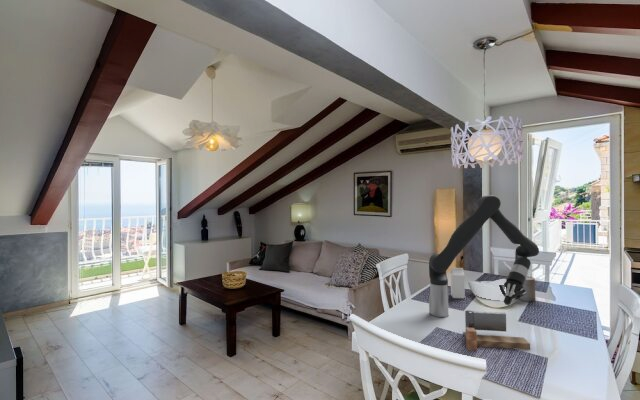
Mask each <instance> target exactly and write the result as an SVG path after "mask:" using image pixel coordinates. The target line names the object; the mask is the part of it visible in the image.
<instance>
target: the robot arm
mask: <svg viewBox="0 0 640 400" xmlns="http://www.w3.org/2000/svg"><path fill="white" fill-rule="evenodd" d="M501 203H502V202H501V199H500V198H499V197H498V196H497V195H492V194H491V195H483V196H481V197H480V198H479V199H478V201H477V205H478V208H477V209H476V211H475V212H474V213H473V214H472V215H470V216H469V217H467V218H466V219H465V220H463V222H462V223H460V225H458V227H456V229H454V231H453V233H452V234H451V236H450V237H449V240H448V242H447V245H446V246H445V248H444V249H443V250H441V252H440V253H434V254H432V255H431V256H430V257H429V260H428V273H429V282H430V283H429V284H430V285H429V286H430V287H429V288H430V289H429V290H430V291H429V292H430V295H429V296H428V312H429V314H431V316H433V317H437V318H447V317H448V316H449V280H448V277H447V271H448V270H449V268H450V267H451V265H452V263H453V262H454V261H455V259H456V258H457V257H458V255H459V254H460V253H461V252H462V251H463V250H464V249H465V247H467V246H468V244H469V243H470V242H471V241H472V240H473V238H474V237H475V236H476V235H477V234H478V232H479V231H480V230H481V228H483V226H484V224H485V223H487V221H488V220H489V219H491V220H492V221H493V222H494V223H495V225H497V226H498V228H499V229H500V231H502V233H503V234H504V235H505V237H507V239H508V241H510V242H511V243H512V244H514V245H518V246H517V247H516V249H515V254H514V255H515V256H514V257H515V258H514V259H515V260H514V262H513V264H512V266H511V268H510V270H509V273H508V275H507V277H506V281H505V282H504V285H499V287H500V290H501V292H502V294H503V295H502V296H503V297H504V298H503V299H504V300H503V303H504V304H505V306H510V305H512V302H513V300H519V299H518V298H520V297H522V296H524V295H526V294H527V293H526V291H525V290H524V289H523V285H524V283H525V280H526V278H527V276H528V274H529V270H530V268H531V263H532V262H531V259H529V258H532V257H533V258H534V257H536V256H538V255H539V254H540V249H539V247H538V245H537V244H536V242H534V241H533V240H531V239H530V238H529V237H527V235H524V234H523V232H522V231H521V230H520V228H518V227H517V225H516V224H515V223H513V221H511V220H510V219H509V218H508V217H507V216H505V214H504V213H503V212H502V211H501V210H500V208H501ZM505 287H506V293H505V291H504V289H505Z"/></svg>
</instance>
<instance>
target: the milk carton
mask: <svg viewBox="0 0 640 400" xmlns="http://www.w3.org/2000/svg"><path fill="white" fill-rule="evenodd" d="M465 276H466V275H465V272H464V268H463V267H451V270H450V296H451V297H452V298H453V299H464V298H465V299H466V288H465V287H466V283H465V281H466V280H465V279H466V277H465Z"/></svg>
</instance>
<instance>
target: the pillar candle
mask: <svg viewBox="0 0 640 400" xmlns="http://www.w3.org/2000/svg"><path fill="white" fill-rule="evenodd" d="M535 280H536V279H535V278H534V277H533V276H528V275H527V278H526V280H525V283H524V285H523V289H524V290H525V291H526V293H527V294H526V295H524V296H522V297H520V298H519V299H518V300H520V301H523V302H535V301H536V281H535Z"/></svg>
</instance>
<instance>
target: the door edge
mask: <svg viewBox="0 0 640 400" xmlns="http://www.w3.org/2000/svg"><path fill="white" fill-rule="evenodd" d="M462 336H464V337H465V347H466V346H467V347H466V348H467V350H468V351H476V350H478V347H488V348H489V347H490V348H502V347H503V349H505V348H506V349H519V350H531V343H530V342H529V341H528V340H527V339H526V338H525V337H521V336H519V337H518V336H504V335H488V334H486V335H485V334H478V332H477V330H475V329H474V328H467V327H466V326H465V331H464V332H462Z"/></svg>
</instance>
